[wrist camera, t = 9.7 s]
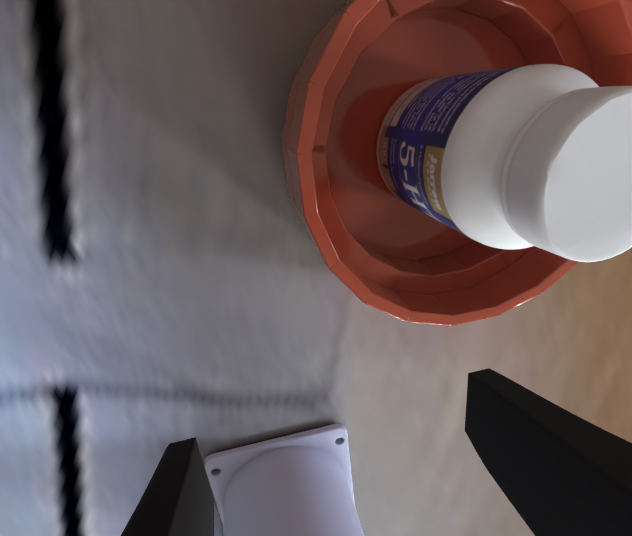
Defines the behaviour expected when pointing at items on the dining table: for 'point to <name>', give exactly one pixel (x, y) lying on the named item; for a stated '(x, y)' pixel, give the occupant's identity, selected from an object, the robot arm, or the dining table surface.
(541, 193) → the pill bottle
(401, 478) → the dining table surface
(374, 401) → the dining table surface
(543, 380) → the dining table surface
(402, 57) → the bowl
